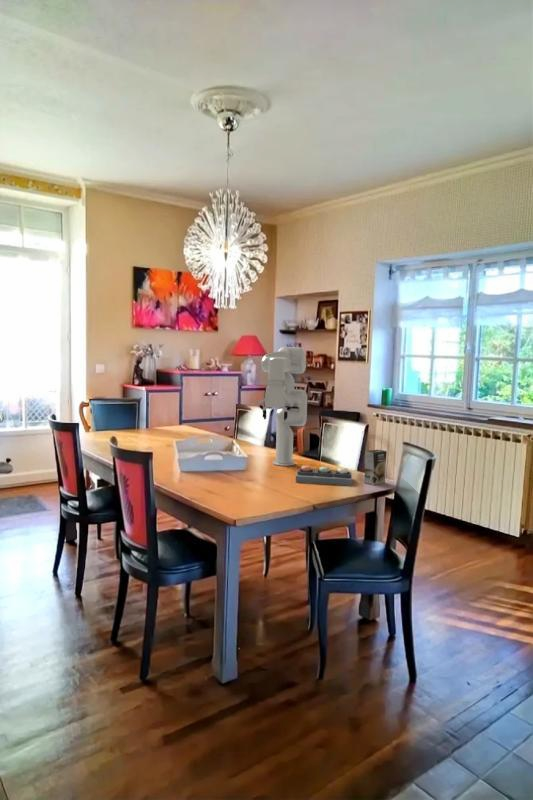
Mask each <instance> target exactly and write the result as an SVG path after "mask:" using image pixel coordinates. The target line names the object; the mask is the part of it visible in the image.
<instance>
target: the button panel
mask: <svg viewBox="0 0 533 800" xmlns="http://www.w3.org/2000/svg"><path fill="white" fill-rule="evenodd" d="M352 479H353V478H352V472H351V471H348V473H347V474H339V473H337V470H334V471H333V470H330V469H329V473H321V472H319V469H313V468H311V471H310V472H304V471H301V468H298V470H297V473H296V475H295V483H300V482H301V483H303V484H305V483H306V484H316V483H320V484H319V485H331V484H336V486H346V485H351V486H352V483H353V482H352Z"/></svg>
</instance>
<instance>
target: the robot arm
mask: <svg viewBox="0 0 533 800" xmlns="http://www.w3.org/2000/svg"><path fill="white" fill-rule="evenodd" d="M260 363H261V364H260V365H261V366H260V367H261V370H262V371H263V372H264V373H267V374H268V377H267V386H266V388H265V392H264V393H265V395H264V398H262V399H260V400H258V401H257V404H258V407H259V409H261V410H262V418H263V420H266V419H267V408H275V409H276V408H278V409H277V410H276V412H275V416H274V417H275V425H276V428H275V429H276V435H275V436H276V438H275V439H276V440H275V441H276V442H275V460H273V461H272V464H273V465H276V466H280V467H281V466H282V467H283V466H285V467H290V466H294V465H296V461H294V460H293V456H294V454H293V453H294V432H293V430H292V429H291V426H293V427H303V426H305V425H306V423H307V417H308V394H307V392H306V391H305V390H304V389H296V388H295V378H294V377H293V376H292V374H295V375H296V374H297V375H298V374H303V373H305V372H306V369H307V361H306V354H305V351H304V349H303V348H302V347H300V346H281V347H280V348H279V349H278V350H277V351H274V352H271V353H266V354H265V355H264V356H263V357H262V359H261V362H260ZM262 403H264V406H263V405H262ZM292 407H297V408H292Z"/></svg>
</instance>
